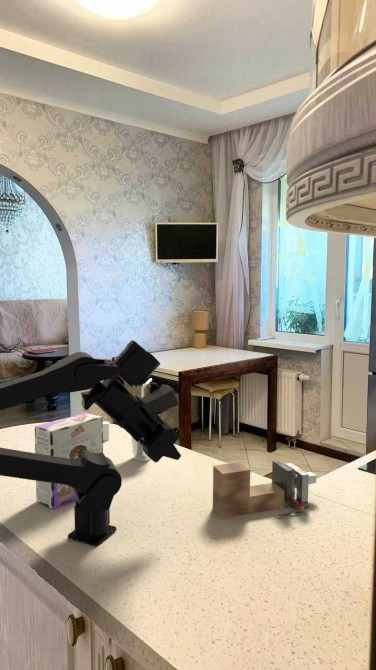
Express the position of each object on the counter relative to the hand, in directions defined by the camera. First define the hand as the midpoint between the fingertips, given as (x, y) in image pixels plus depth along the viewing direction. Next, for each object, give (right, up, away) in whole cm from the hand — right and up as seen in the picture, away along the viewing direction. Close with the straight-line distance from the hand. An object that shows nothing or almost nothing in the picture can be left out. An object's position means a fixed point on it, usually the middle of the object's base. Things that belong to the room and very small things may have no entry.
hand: (179, 457), depth 96 cm
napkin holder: (-26, -7, +49) cm, 56 cm away
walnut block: (+14, -12, +7) cm, 20 cm away
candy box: (-23, -11, +12) cm, 29 cm away
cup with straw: (-10, -9, +35) cm, 37 cm away
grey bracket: (+25, -10, +9) cm, 29 cm away
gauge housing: (+22, -12, +8) cm, 26 cm away
